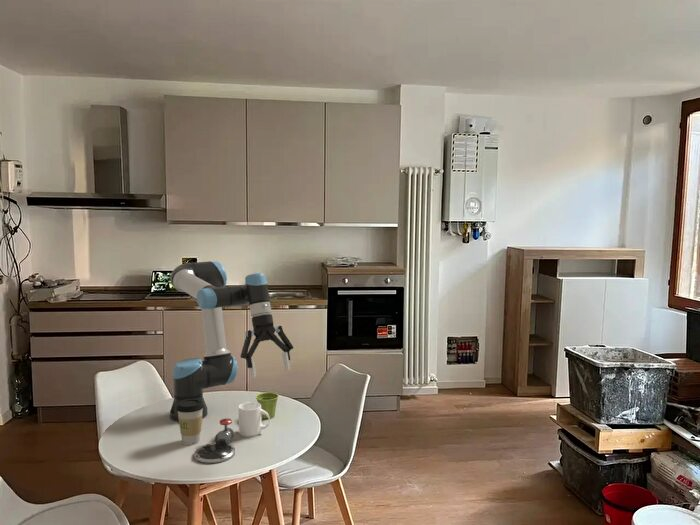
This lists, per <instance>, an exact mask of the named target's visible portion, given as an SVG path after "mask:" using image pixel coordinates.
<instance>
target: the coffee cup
mask: <svg viewBox="0 0 700 525" xmlns="http://www.w3.org/2000/svg"><path fill="white" fill-rule="evenodd" d="M203 407H204V405H203V403H202V401H201V400H200V399H185V400H182V401H180V402H179V403H178V406H177V408H176V410H177V411H178V419H179V422H178V424H179V431H180V435H181V441H182V444H183V445H185V446H192V445H197V444H198V443H200V440H201V433H202V432H201V431H202V424H203V418H202V415H203V414H202V410H203Z"/></svg>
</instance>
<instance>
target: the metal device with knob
mask: <svg viewBox="0 0 700 525" xmlns="http://www.w3.org/2000/svg"><path fill="white" fill-rule="evenodd" d="M232 423H233V420H232V419H231V418H221V419H220V420H219V424H220V425H221V426H224V429H223V430H220V431H218V432H217V433H216V434H215V436H214V443H207V444H204V445H203V446H201V447H198V448H197V449H196V450H195V451H194V454H193V458H194V460H195V461H196V462H198V463H201V464H206V465H207V464H208V465H212V464H219V463H223V462H227V461H229V460H231V459H232V458H233V457H234V456H236V448H235V447H234V445H233V444H231V443H232V440H233V438H234V435H235V434H234V433H235V432H234V429H232V428H231V427H228V425H231V424H232Z"/></svg>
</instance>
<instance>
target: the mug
mask: <svg viewBox="0 0 700 525" xmlns="http://www.w3.org/2000/svg"><path fill="white" fill-rule="evenodd" d="M261 414H264V415H266V416H267V417H268V418H267V419H268V422H267V424H263V423H262V418H261ZM270 422H271V418H270V417H269V415H268V413H267V412H266V411H264V410H263V409H261V404H260V403H258V401H256V402H255V401H249V402H244V403H241V404H239V405H238V433H239V434H240V435H241V436H243V437H251V438H252V437H256V436H258V435H260V434H261V432H262V430H265V429H267V428H268V427H269V425H270Z"/></svg>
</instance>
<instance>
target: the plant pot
mask: <svg viewBox="0 0 700 525" xmlns="http://www.w3.org/2000/svg"><path fill="white" fill-rule="evenodd" d="M278 398H279V394H278V393H276V392H263V393H262V392H261V393H259V394H256V396H255V399H256V402H257V403H260V404H261V409H263V410H264V411H266V412H267V413H268V415H269V417H270V419H272V417H273V418H274V417H275V416H276V408H277V402H278ZM265 418H267V419H268V417H267V416H266V415H264V414H261V419H265Z"/></svg>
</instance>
